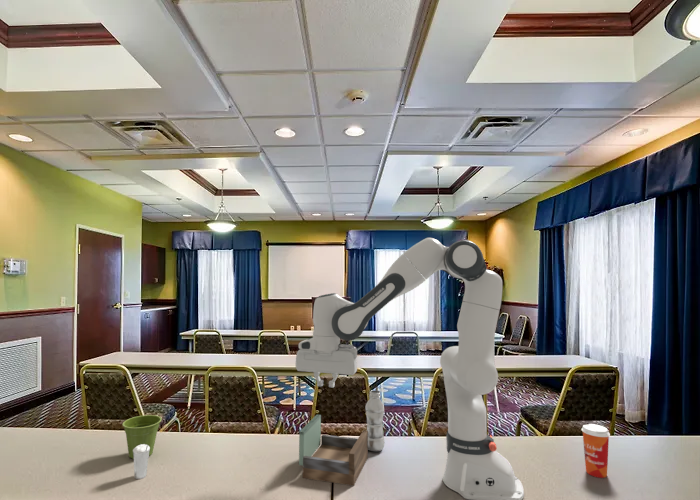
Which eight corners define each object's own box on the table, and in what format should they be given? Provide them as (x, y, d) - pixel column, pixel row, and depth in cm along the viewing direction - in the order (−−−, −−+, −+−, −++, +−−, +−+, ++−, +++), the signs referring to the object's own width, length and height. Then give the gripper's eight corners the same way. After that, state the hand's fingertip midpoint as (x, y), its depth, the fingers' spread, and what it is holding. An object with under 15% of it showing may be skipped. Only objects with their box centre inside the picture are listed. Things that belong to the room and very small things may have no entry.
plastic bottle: (383, 454, 138) (383, 395, 139) (363, 452, 140) (364, 393, 141) (385, 446, 145) (385, 389, 146) (366, 445, 146) (367, 388, 147)
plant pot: (126, 466, 128) (127, 430, 129) (117, 454, 137) (118, 420, 138) (165, 455, 136) (166, 421, 137) (154, 444, 145) (155, 412, 146)
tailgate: (320, 444, 139) (320, 414, 139) (303, 465, 124) (303, 432, 124) (316, 444, 139) (316, 414, 140) (298, 465, 124) (299, 431, 125)
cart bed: (367, 458, 136) (367, 430, 136) (354, 485, 118) (354, 454, 119) (322, 452, 140) (322, 425, 140) (302, 477, 122) (303, 447, 123)
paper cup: (576, 470, 129) (575, 425, 129) (593, 465, 132) (592, 421, 132) (600, 482, 121) (599, 434, 122) (617, 477, 124) (616, 430, 125)
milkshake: (139, 482, 119) (140, 447, 120) (128, 477, 122) (130, 443, 122) (153, 476, 123) (154, 442, 123) (143, 471, 126) (144, 438, 126)
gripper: (359, 343, 132) (359, 386, 132) (301, 340, 138) (300, 381, 137) (354, 346, 126) (354, 392, 126) (293, 343, 132) (293, 386, 131)
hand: (325, 386), depth 131 cm, fingers open, 3 cm apart
